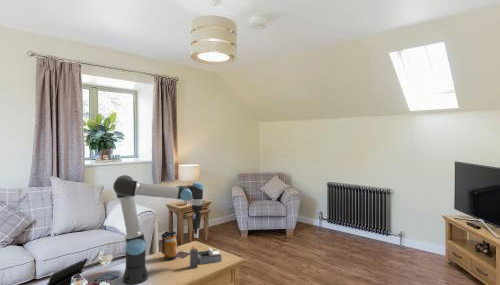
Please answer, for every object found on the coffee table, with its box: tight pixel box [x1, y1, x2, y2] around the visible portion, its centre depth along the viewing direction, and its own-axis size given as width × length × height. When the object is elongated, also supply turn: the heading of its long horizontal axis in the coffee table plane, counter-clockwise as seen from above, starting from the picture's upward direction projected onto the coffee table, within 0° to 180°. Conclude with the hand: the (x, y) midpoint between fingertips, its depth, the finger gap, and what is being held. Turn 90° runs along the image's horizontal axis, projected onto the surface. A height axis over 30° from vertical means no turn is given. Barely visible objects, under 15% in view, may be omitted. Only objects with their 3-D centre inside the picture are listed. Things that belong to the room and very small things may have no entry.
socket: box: [198, 249, 222, 265], centre depth 227 cm, size 16×12×5 cm
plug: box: [189, 245, 199, 269], centre depth 214 cm, size 4×4×14 cm
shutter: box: [208, 247, 221, 256], centre depth 228 cm, size 7×7×3 cm
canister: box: [161, 230, 178, 261], centre depth 229 cm, size 9×11×20 cm
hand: (196, 237), depth 219 cm, fingers closed
